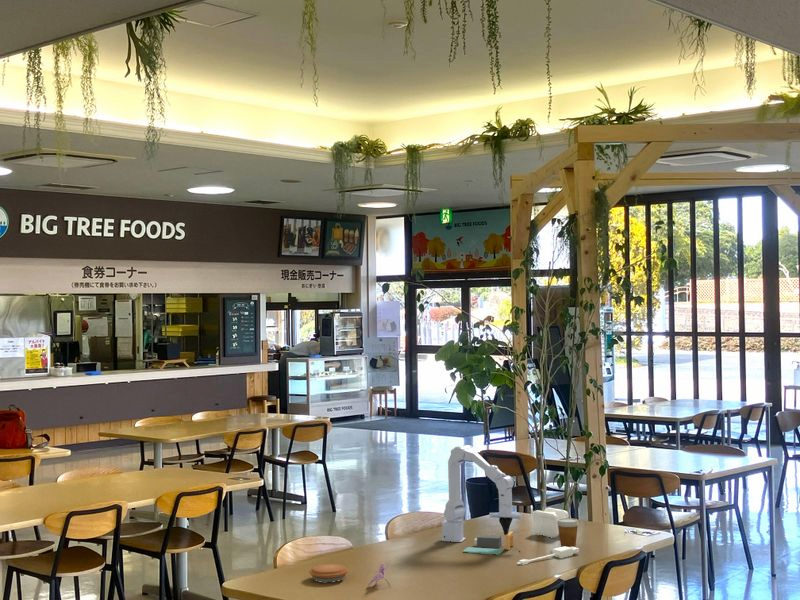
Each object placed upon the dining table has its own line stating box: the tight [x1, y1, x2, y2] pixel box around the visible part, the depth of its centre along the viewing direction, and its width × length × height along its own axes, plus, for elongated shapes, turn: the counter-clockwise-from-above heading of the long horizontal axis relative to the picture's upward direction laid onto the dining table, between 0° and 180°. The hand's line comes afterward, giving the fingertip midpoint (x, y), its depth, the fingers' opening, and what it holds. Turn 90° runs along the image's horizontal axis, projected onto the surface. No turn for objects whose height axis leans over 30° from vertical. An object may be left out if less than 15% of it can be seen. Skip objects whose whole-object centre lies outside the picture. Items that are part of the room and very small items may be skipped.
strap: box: [505, 531, 515, 550], centre depth 423 cm, size 2×9×6 cm, turn 160°
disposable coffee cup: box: [557, 518, 580, 548], centre depth 422 cm, size 10×10×12 cm
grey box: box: [473, 534, 502, 549], centre depth 426 cm, size 12×5×5 cm, turn 71°
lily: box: [367, 560, 391, 587], centre depth 363 cm, size 12×12×10 cm
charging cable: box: [516, 546, 580, 566], centre depth 401 cm, size 5×32×3 cm, turn 124°
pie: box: [308, 563, 349, 582], centre depth 375 cm, size 16×16×5 cm
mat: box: [462, 546, 504, 556], centre depth 416 cm, size 16×8×1 cm, turn 70°
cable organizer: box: [531, 507, 570, 539], centre depth 447 cm, size 15×11×12 cm
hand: (506, 534), depth 423 cm, fingers closed
